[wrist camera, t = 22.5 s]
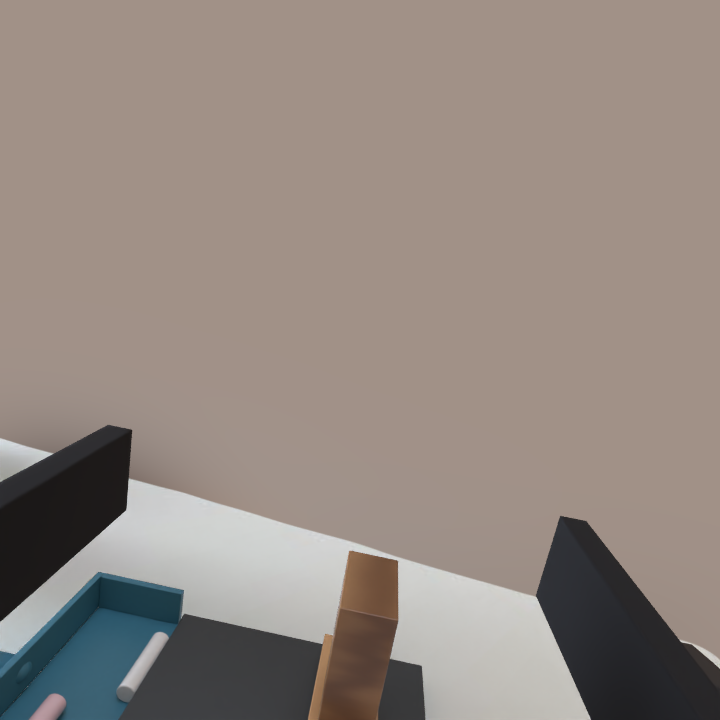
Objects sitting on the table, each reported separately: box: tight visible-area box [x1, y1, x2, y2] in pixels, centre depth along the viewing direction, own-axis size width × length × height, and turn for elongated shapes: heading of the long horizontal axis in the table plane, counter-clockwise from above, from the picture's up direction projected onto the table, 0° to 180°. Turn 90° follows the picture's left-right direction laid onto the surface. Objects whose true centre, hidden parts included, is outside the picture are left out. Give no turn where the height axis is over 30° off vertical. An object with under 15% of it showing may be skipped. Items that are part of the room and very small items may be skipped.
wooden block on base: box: [308, 551, 398, 720], centre depth 27 cm, size 4×12×12 cm, turn 175°
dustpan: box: [0, 572, 184, 720], centre depth 29 cm, size 15×16×3 cm
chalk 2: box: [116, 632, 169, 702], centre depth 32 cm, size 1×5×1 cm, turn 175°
